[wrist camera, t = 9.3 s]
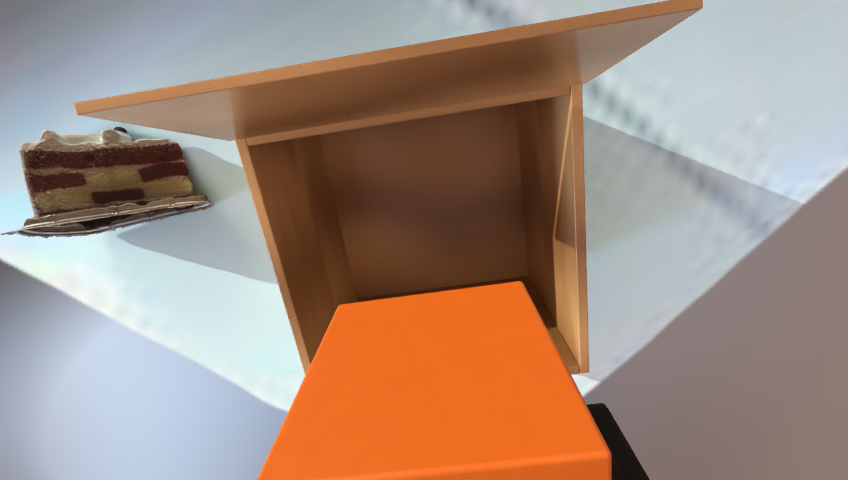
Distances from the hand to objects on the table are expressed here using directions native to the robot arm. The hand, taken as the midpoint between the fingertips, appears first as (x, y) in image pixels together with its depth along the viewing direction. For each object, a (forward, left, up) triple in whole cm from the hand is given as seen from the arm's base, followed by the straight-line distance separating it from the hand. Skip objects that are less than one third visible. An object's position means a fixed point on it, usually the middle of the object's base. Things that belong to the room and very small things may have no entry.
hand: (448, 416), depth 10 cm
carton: (0, -1, -23) cm, 23 cm away
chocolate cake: (-6, -23, -23) cm, 33 cm away
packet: (0, 0, 0) cm, 0 cm away
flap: (-8, -1, -6) cm, 10 cm away
